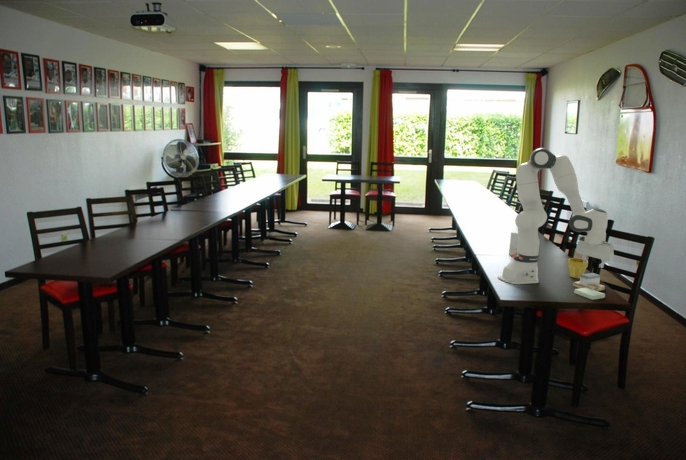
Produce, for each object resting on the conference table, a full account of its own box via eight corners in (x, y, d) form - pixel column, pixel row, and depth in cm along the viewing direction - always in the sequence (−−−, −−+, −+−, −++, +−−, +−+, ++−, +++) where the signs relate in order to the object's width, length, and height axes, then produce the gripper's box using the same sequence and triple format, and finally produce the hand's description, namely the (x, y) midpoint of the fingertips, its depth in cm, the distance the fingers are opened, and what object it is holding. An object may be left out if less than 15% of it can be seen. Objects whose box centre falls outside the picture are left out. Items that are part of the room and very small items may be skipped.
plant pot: (563, 276, 308) (565, 259, 306) (569, 273, 315) (572, 256, 313) (582, 280, 301) (584, 263, 299) (588, 277, 309) (590, 260, 307)
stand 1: (590, 292, 281) (591, 288, 281) (572, 285, 291) (573, 282, 290) (604, 289, 286) (605, 286, 286) (586, 283, 296) (587, 280, 295)
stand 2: (592, 299, 269) (593, 295, 268) (574, 293, 278) (574, 289, 278) (604, 297, 273) (605, 293, 273) (585, 291, 283) (586, 287, 282)
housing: (586, 286, 284) (587, 276, 283) (579, 283, 288) (580, 274, 287) (599, 284, 289) (600, 275, 287) (591, 281, 292) (593, 272, 291)
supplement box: (526, 254, 355) (528, 232, 352) (522, 257, 348) (525, 234, 344) (512, 252, 360) (514, 230, 357) (508, 254, 352) (510, 232, 349)
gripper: (618, 243, 276) (614, 269, 278) (583, 235, 293) (581, 260, 296) (609, 244, 273) (606, 270, 275) (575, 236, 290) (573, 261, 293)
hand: (593, 265), depth 286 cm, fingers open, 8 cm apart
